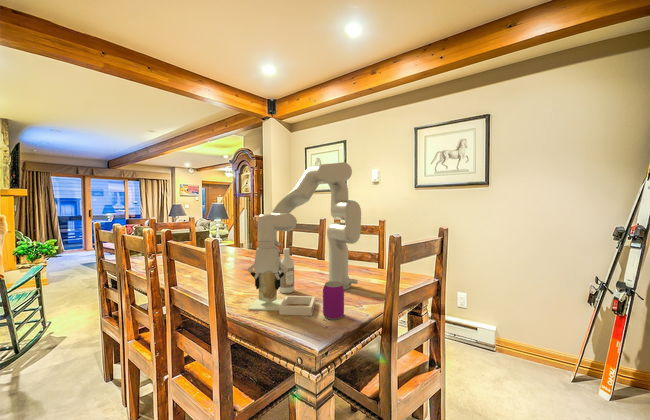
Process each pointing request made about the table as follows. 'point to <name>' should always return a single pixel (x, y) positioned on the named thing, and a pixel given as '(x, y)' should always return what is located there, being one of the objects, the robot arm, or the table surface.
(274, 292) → the skincare box
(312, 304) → the collar
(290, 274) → the bath foam
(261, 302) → the mat
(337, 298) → the beverage can
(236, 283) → the table surface
